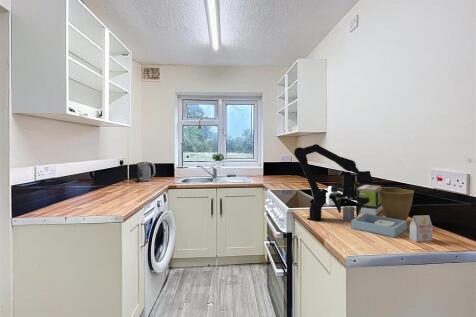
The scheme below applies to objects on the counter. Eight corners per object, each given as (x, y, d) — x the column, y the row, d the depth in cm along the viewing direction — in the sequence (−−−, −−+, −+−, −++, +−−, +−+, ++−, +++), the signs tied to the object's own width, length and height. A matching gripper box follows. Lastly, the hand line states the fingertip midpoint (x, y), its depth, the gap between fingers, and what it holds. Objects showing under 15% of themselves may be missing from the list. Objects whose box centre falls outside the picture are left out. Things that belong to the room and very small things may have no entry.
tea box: (363, 208, 163) (363, 184, 162) (382, 210, 156) (382, 185, 156) (356, 213, 151) (356, 187, 150) (376, 216, 145) (376, 189, 144)
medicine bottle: (336, 203, 178) (336, 185, 178) (339, 205, 171) (339, 187, 170) (325, 203, 179) (325, 185, 178) (328, 205, 172) (328, 187, 171)
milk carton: (409, 239, 109) (409, 214, 108) (424, 238, 109) (425, 214, 109) (416, 242, 105) (416, 217, 104) (432, 241, 106) (432, 216, 105)
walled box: (394, 238, 110) (394, 228, 109) (351, 228, 123) (351, 220, 123) (406, 229, 120) (406, 220, 120) (365, 221, 134) (366, 213, 134)
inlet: (390, 232, 115) (390, 225, 115) (373, 228, 120) (373, 222, 120) (395, 229, 120) (395, 222, 119) (379, 225, 125) (379, 219, 124)
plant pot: (407, 219, 137) (407, 188, 137) (418, 227, 123) (418, 193, 122) (375, 217, 141) (375, 187, 141) (382, 225, 127) (383, 192, 126)
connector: (350, 222, 133) (350, 207, 133) (343, 220, 136) (343, 206, 136) (354, 220, 136) (354, 206, 136) (346, 219, 139) (346, 205, 139)
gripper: (374, 184, 134) (373, 215, 135) (339, 181, 148) (338, 209, 148) (364, 186, 126) (364, 219, 127) (328, 183, 140) (328, 212, 141)
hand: (348, 214), depth 136 cm, fingers open, 9 cm apart
